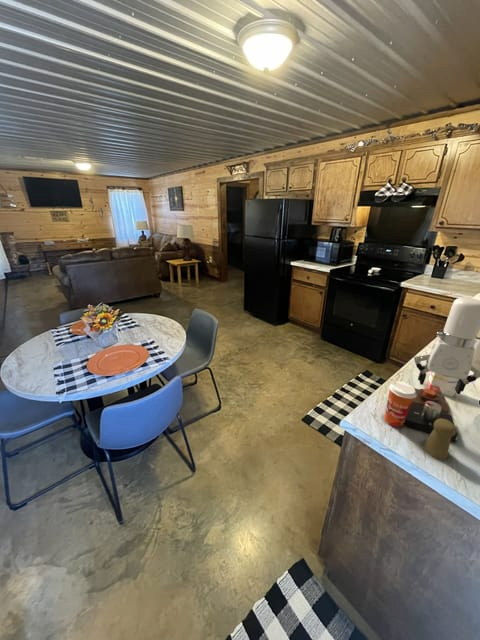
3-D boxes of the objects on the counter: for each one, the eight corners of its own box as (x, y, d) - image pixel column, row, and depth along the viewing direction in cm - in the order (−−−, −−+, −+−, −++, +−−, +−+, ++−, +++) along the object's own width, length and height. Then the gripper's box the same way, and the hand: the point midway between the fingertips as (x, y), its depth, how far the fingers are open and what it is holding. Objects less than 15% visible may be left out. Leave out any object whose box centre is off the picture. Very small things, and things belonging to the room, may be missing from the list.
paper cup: (377, 419, 91) (386, 386, 86) (386, 410, 96) (395, 377, 90) (401, 433, 85) (412, 398, 80) (410, 422, 90) (421, 388, 85)
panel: (448, 421, 91) (451, 414, 89) (454, 442, 82) (458, 434, 81) (402, 408, 97) (404, 401, 95) (403, 426, 88) (406, 418, 87)
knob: (436, 415, 89) (440, 402, 87) (437, 423, 86) (442, 410, 84) (420, 410, 91) (425, 398, 89) (422, 418, 88) (426, 406, 86)
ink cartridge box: (428, 391, 107) (439, 359, 101) (426, 384, 111) (436, 353, 105) (454, 397, 103) (466, 364, 98) (450, 390, 108) (462, 358, 102)
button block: (442, 400, 101) (445, 391, 100) (447, 416, 93) (450, 407, 92) (406, 390, 106) (409, 382, 105) (408, 405, 98) (411, 396, 97)
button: (433, 394, 99) (434, 390, 98) (434, 399, 96) (436, 395, 96) (422, 391, 101) (423, 387, 100) (423, 396, 98) (424, 392, 97)
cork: (423, 453, 78) (433, 424, 74) (423, 439, 83) (433, 412, 79) (448, 463, 75) (460, 434, 71) (446, 448, 80) (458, 420, 76)
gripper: (423, 337, 78) (408, 385, 85) (499, 352, 71) (475, 403, 77) (421, 328, 84) (407, 373, 91) (490, 341, 77) (469, 389, 84)
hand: (438, 387), depth 84 cm, fingers open, 9 cm apart
